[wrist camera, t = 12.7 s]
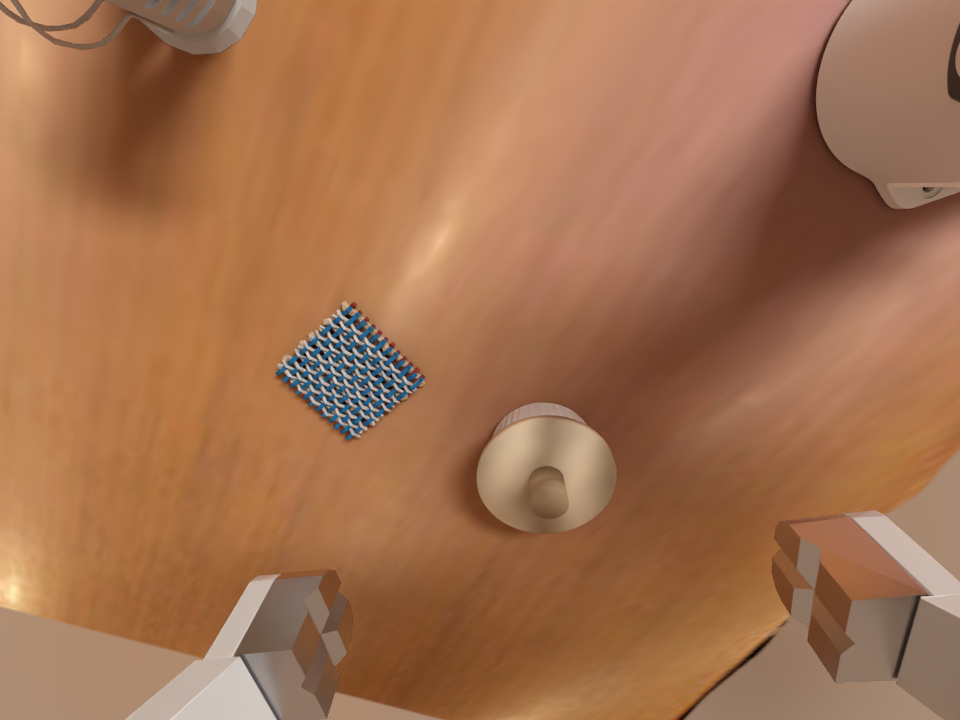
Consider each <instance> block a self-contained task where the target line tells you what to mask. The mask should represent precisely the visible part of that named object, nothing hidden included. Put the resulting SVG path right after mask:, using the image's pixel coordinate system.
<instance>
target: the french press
mask: <svg viewBox="0 0 960 720" xmlns="http://www.w3.org/2000/svg"><path fill="white" fill-rule="evenodd" d="M11 1H12V3H13V4H14V6H15V7H16V9H17V10H18V12H19V13H20V14H21V16H22V17H23V19H22V18H21V17H19V16H18V15H16V14H15V13H13V12H12V11H10V10H9V9H8V8H6V7H5V6H4V5H3V4H2V3H1V2H0V10H2V11H3V12H4V13H5V14H6V15H8V16H9V17H11V18H12V19H14V20H15V21H17V22H18V23H21V24H24V25H27V26H30V27H32V28H33V29H35V30H36V31H37V32H38V33H40V34H41V35H42V36H43V37H45V38H46V39H48V40H49V41H51V42H52V43H54V44H55V45H60V46H65V47H69V48H74V49H79V50H85V49H93V48H97V47H101V46H105V45H106V44H107V43H109V42H110V41H112V40H113V39H114V38H116V37H117V36H118V34H119V33H120V32H121V30H122V29H123V28H124V26H125V25H126V24H127V22H128V21H129V20H130V19H131V18H135V19H138V20H140V21H141V22H142V23H143V24H144V25H146V26H147V27H148V28H149V29H150V30H151V31H152V32H153V33H155V34H156V35H157V36H158V37H159V38H160V39H161V40H162V41H164V42H165V43H166V44H168V45H170V46H173V47H175V48H178V49H180V50H183V51H185V52H188V53H190V54H193V55H197V54H215V53H220V52H222V51H224V50H225V49H227V48H228V47H230V46H231V45H233V44H235V43H236V42H238V41H239V40H241V38H242V37H243V35H244V33H245V32H246V30H247V28H248V26H249V25H250V23H251V21H252V19H253V18H254V16H255V12H256V4H257V0H96V1H95V2H94V3H93V5H92V6H91V7H90V8H89V9H88V10H87V12H86V13H85V14H84V15H83V16H81V17H80V18H79V19H78V20H76V21H75V22H74V23H71V24H66V25H61V26H45V25H42V24H38V23H34V22H32V21H31V19H30V18H29V16H28V15H27V13H26V12H25V10H24V9H23V7H22V6H21V4H20V3H19V1H18V0H11ZM103 1H106V2H109V3H111V4H113V5H116V6H118V7H120V8H123V9H125V10H128V11H130V12H132V13H126V15H125V16H124V17H123V19H122V20H121V21H120V22H119V24H118V25H117V26H116V28H115V29H114V30H113V31H112V32H111V33H110V34H109V35H108V36H107V37H106V38H105V39H103V40H102V41H100V42H96V43H93V44H72V43H69V42H66V41H62V40H59V39H55V38H53V37H52V36H50V35H49V34H47V33H46V32H44V31H62V30H68V29H75V28H77V27H79V26H80V25H81V24H83V23H84V22H86V21H87V20H89V19H90V18H91V16H92V15H93V14H94V12H95V11H96V10H97V8H98V7H99V6H100V4H101V3H102V2H103Z"/></svg>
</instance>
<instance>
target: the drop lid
mask: <svg viewBox="0 0 960 720" xmlns="http://www.w3.org/2000/svg"><path fill="white" fill-rule="evenodd" d="M616 483H617V468H616V463H615V460H614V457H613V454H612V452H611V450H610V448H609V446H608V444H607V443H606V442H605V440H604V439H603V438H602V437H601V436H600V435H599V434H598V433H597V432H596V431H595V430H593V429H592V428H591V427H589V426H587V425H586V424H584V423H582V422H580V421H577V420H575V419H571V418H568V417H563V416H556V415H541V416H533V417H528V418H525V419H521V420H518V421H516V422H514V423H512V424H510V425H508V426H506V427H504V428H503V429H501V430H500V431H499V432H498V433H496V434H495V435H494V436H493V437H492V438H491V439H490V440H489V442H488V443H487V444H486V446H485V447H484V449H483V451H482V453H481V455H480V458H479V461H478V466H477V488H478V492H479V495H480V497H481V499H482V501H483V503H484V505H485V506H486V507H487V509H488V510H489V511H490V512H491V513H492V514H493V515H494V516H495V517H496V518H497V519H499V520H500V521H502V522H503V523H505V524H507V525H509V526H511V527H513V528H516V529H519V530H522V531H526V532H531V533H541V534H549V533H558V532H564V531H568V530H571V529H574V528H577V527H579V526H581V525H583V524H585V523H587V522H589V521H590V520H592V519H593V518H594V517H596V516H597V515H598V514H599V513H600V512H601V511H602V510H603V509H604V508H605V507H606V505H607V504H608V503H609V501H610V499H611V497H612V496H613V493H614V490H615V488H616Z"/></svg>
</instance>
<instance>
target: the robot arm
mask: <svg viewBox="0 0 960 720" xmlns="http://www.w3.org/2000/svg"><path fill="white" fill-rule="evenodd" d="M816 110H817V117H818V122H819V127H820V130H821V133H822V135H823V138H824V140H825V142H826V144H827V146H828V147H829V149H830V150H831V152H832V153H833V154H834V155H835V156H836V158H837V159H838V160H839V161H840V162H842V163H843V164H844V165H845V166H847V167H848V168H850V169H851V170H853V171H855V172H857V173H859V174H861V175H863V176H865V177H866V178H868V179H869V180H871V181H872V182H873V183H874V185H875V187H876V189H877V190H878V192H879V194H880V195H881V197H882V199H883V200H884V201H885V203H886V204H887V205H888V206H890V207H891V208H894V209H911V208H915V207H918V206H921V205H924V204H926V203H929V202H932V201H935V200H938V199H941V198H944V197H947V196H949V195H952V194H955V193H958V192H960V0H852V1H851V2H850V4H849V5H848V7H847V8H846V10H845V11H844V13H843V14H842V16H841V18H840V20H839V21H838V23H837V25H836V27H835V29H834V31H833V33H832V35H831V37H830V39H829V42H828V44H827V47H826V49H825V52H824V55H823V58H822V62H821V65H820V69H819V74H818V80H817V88H816ZM923 187H926V188H925V189H924V190H923ZM774 539H775V540H776V541H777V543H778V544H779V545H780V547H781V549H780V550H779V551H778V552H777V553H776V554H775V555H774V556H773V557H772V575H773V579H774V583H775V587H776V590H777V592H778V594H779V596H780V598H781V601H782V602H783V604H784V605H785V607H786V609H787V610H788V612H789V613H790V615H791V616H793V617H794V618H796V619H797V620H799V621H800V622H802V623H804V624H805V625H807V626H808V627H809V631H808V642H809V644H810V645H811V647H812V648H813V650H814V651H815V653H816V654H817V656H818V657H819V659H820V660H821V662H822V663H823V665H824V666H825V668H826V669H827V671H828V672H829V674H830V675H831V677H832V678H833V680H834V682H835V683H843V682H868V681H892V680H897V681H896V684H897V685H898V686H900V687H901V688H902V689H904V690H905V691H906V692H908V693H909V694H910V695H912V696H913V697H914V698H916V699H917V700H918V701H920V702H921V703H922V704H924V705H925V706H926V707H928V708H929V709H930V710H932V711H933V712H934V713H936V714H937V715H938V716H940V717H941V718H943V719H944V720H960V582H959V581H958V580H957V579H956V578H955V577H954V576H952V575H951V574H950V573H949V572H948V571H947V570H946V569H945V568H943V567H942V566H941V565H940V564H939V563H938V562H936V560H934V559H933V558H932V557H931V556H930V555H929V554H928V553H927V552H925V551H924V550H923V549H922V548H921V547H920V546H919V545H918V544H916V543H915V542H914V541H913V540H912V539H911V538H910V537H909V536H907V535H906V534H905V533H904V532H903V531H902V530H901V529H899V528H898V527H897V526H896V525H895V524H894V523H893V522H892V521H891V520H889V519H888V518H887V517H886V516H885V515H883V514H881V513H879V512H877V511H875V510H873V511H864V512H856V513H847V514H841V515H828V516H820V517H811V518H803V519H794V520H786V521H779V523H778V524H777V526H776V527H775V535H774ZM340 584H341V582H340V580H339V578H338V575H337V573H336V571H335V570H318V571H305V572H292V573H282V574H273V575H260V576H257V577H256V578H254V579H253V580H252V581H251V582H250V583H249V584H248V586H247V588H246V589H245V591H244V593H243V594H242V596H241V598H240V599H239V601H238V603H237V604H236V606H235V608H234V609H233V611H232V613H231V614H230V616H229V618H228V619H227V621H226V623H225V624H224V626H223V627H222V629H221V631H220V632H219V634H218V636H217V637H216V639H215V641H214V642H213V644H212V646H211V647H210V649H209V651H208V652H207V654H206V656H205V657H204V659H202V660H195V661H194V662H193V663H192V664H190V665H189V666H188V667H187V668H186V669H184V670H183V671H182V672H181V673H180V674H179V675H177V676H176V677H175V678H174V679H173V680H171V681H170V682H169V683H168V684H167V685H165V686H164V687H163V688H162V689H161V690H160V691H158V692H157V693H156V694H155V695H154V696H153V697H151V698H150V699H149V700H148V701H146V702H145V703H144V704H143V705H142V706H141V707H139V708H138V709H137V710H136V711H135V712H134V713H132V714H131V715H130V716H129V717H127V718H126V719H125V720H320V719H327V716H328V713H329V710H330V707H331V704H332V700H333V697H334V694H335V691H336V688H337V684H338V681H339V676H338V673H337V670H336V667H335V666H336V665H337V664H338V663H339V662H340V661H341V659H342V658H343V657H344V656H345V655H346V654H347V652H348V649H349V645H350V642H351V638H352V628H353V616H352V610H351V606H350V604H349V601H348V599H347V598H345V597H344V596H343V595H341V594H340V593H338V589H339V587H340Z"/></svg>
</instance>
